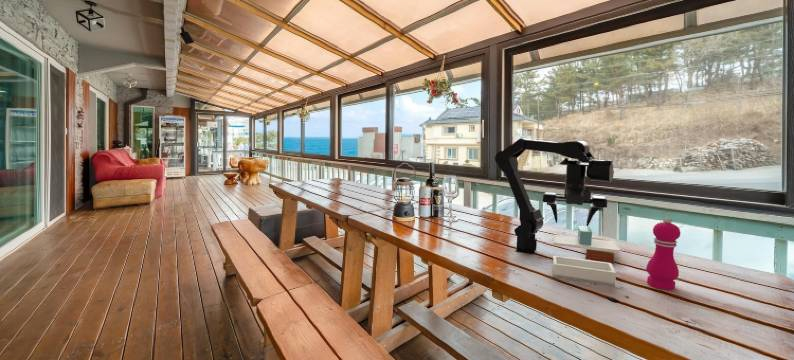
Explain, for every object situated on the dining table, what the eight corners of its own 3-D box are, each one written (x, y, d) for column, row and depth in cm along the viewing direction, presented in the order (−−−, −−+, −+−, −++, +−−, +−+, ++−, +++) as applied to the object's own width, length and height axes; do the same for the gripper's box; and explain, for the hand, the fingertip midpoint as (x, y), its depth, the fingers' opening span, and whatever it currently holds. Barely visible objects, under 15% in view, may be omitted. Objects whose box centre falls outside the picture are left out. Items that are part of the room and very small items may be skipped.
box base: (552, 276, 100) (553, 264, 99) (552, 267, 107) (553, 255, 106) (615, 286, 93) (616, 272, 92) (610, 275, 100) (611, 263, 100)
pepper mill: (679, 293, 89) (687, 221, 86) (646, 287, 92) (653, 218, 90) (674, 283, 95) (682, 216, 92) (643, 278, 98) (649, 213, 96)
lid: (553, 245, 98) (554, 229, 97) (552, 237, 106) (553, 222, 105) (619, 253, 91) (621, 236, 91) (614, 243, 99) (615, 228, 99)
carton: (611, 251, 123) (613, 240, 122) (613, 265, 109) (615, 253, 109) (586, 247, 127) (587, 236, 127) (585, 260, 114) (586, 248, 113)
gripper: (543, 179, 106) (540, 226, 108) (611, 184, 97) (606, 234, 100) (544, 176, 116) (542, 219, 118) (607, 179, 107) (602, 225, 109)
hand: (571, 224), depth 111 cm, fingers open, 9 cm apart
